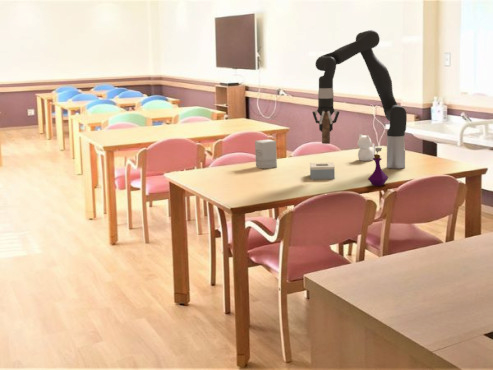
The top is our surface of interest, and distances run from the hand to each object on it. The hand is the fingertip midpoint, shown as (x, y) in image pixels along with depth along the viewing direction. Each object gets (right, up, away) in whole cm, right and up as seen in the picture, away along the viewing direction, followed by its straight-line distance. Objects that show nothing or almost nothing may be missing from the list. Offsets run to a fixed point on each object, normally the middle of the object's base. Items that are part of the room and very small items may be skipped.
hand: (325, 131), depth 360 cm
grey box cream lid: (-1, -23, +6) cm, 24 cm away
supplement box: (-29, -17, +38) cm, 51 cm away
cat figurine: (+29, -13, +49) cm, 59 cm away
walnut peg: (0, -6, +1) cm, 6 cm away
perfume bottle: (+23, -27, -17) cm, 40 cm away
